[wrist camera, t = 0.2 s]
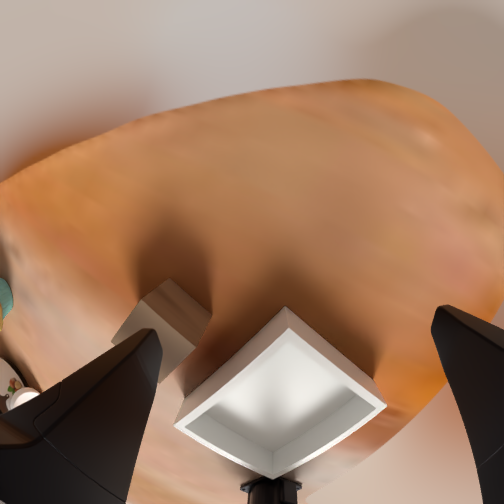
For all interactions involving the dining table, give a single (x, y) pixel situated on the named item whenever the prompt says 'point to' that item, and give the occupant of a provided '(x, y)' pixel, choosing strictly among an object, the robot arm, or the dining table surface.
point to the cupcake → (5, 300)
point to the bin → (280, 399)
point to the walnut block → (168, 323)
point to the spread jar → (13, 387)
